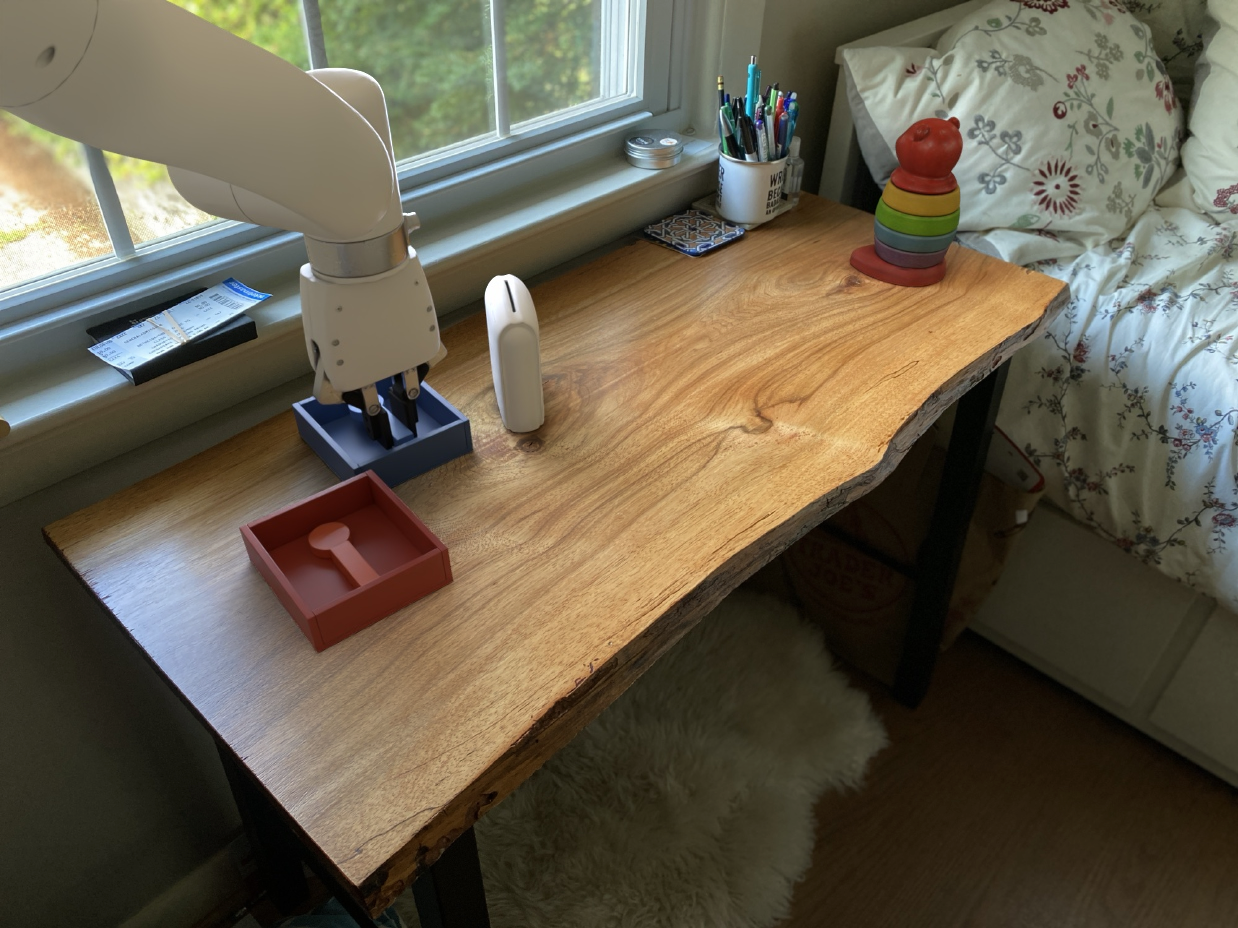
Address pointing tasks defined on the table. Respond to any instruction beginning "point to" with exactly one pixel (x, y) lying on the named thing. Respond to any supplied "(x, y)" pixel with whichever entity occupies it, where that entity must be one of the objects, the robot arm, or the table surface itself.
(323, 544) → the red spoon
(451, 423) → the blue bin
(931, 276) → the stacking bear
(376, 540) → the red bin
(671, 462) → the table surface
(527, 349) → the photo printer
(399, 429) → the blue spoon
